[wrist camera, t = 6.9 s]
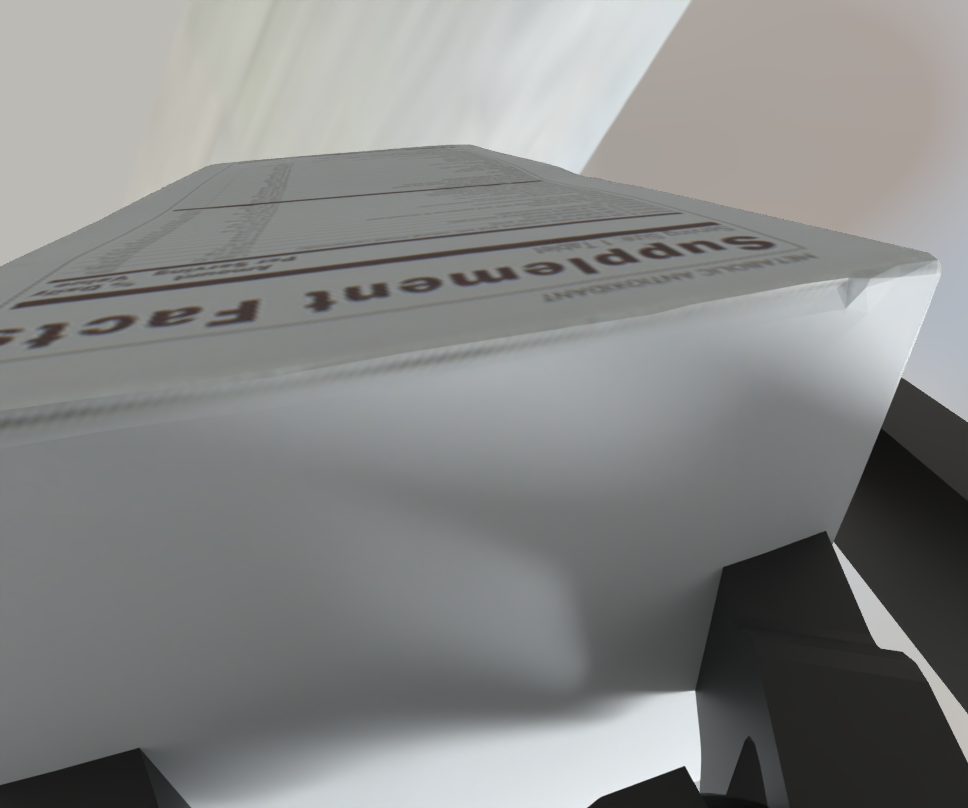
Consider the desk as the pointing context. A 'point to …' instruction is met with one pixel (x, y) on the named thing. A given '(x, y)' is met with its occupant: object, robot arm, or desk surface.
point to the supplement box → (414, 471)
